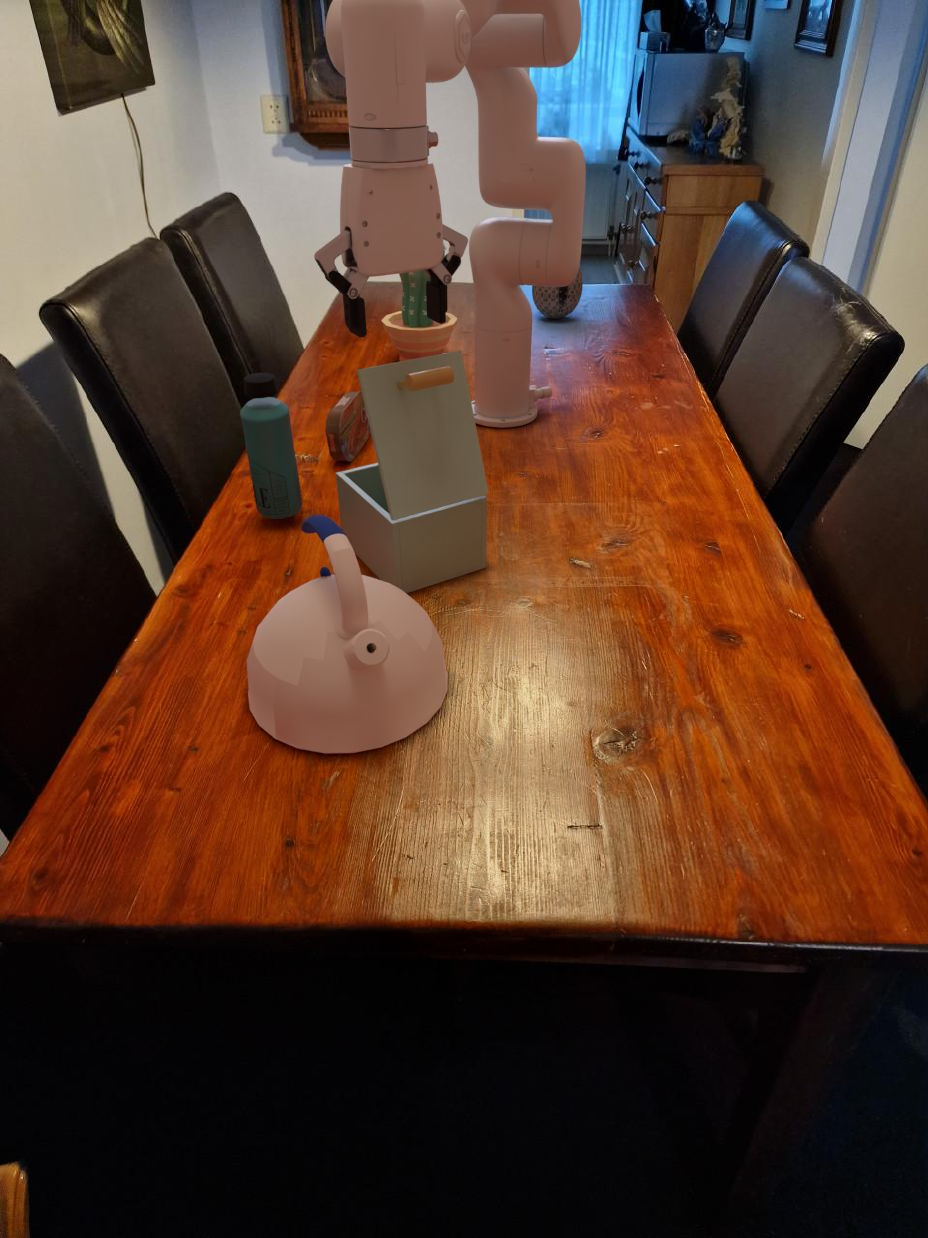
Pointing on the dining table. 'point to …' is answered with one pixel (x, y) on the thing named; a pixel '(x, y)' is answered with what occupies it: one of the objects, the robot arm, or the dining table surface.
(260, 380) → the beverage bottle
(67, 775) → the dining table surface
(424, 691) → the kettle
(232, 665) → the dining table surface
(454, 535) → the chest
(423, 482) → the lid
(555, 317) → the decorative egg
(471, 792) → the dining table surface
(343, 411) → the tin
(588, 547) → the dining table surface
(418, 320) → the potted cactus
